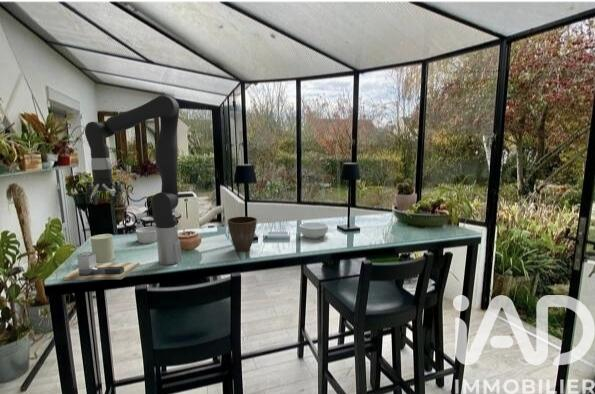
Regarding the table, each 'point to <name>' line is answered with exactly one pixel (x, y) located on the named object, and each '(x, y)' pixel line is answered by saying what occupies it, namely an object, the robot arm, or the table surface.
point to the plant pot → (242, 232)
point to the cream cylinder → (103, 247)
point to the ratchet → (101, 271)
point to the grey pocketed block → (86, 260)
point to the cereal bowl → (313, 230)
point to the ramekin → (147, 234)
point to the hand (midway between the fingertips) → (105, 204)
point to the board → (127, 269)
